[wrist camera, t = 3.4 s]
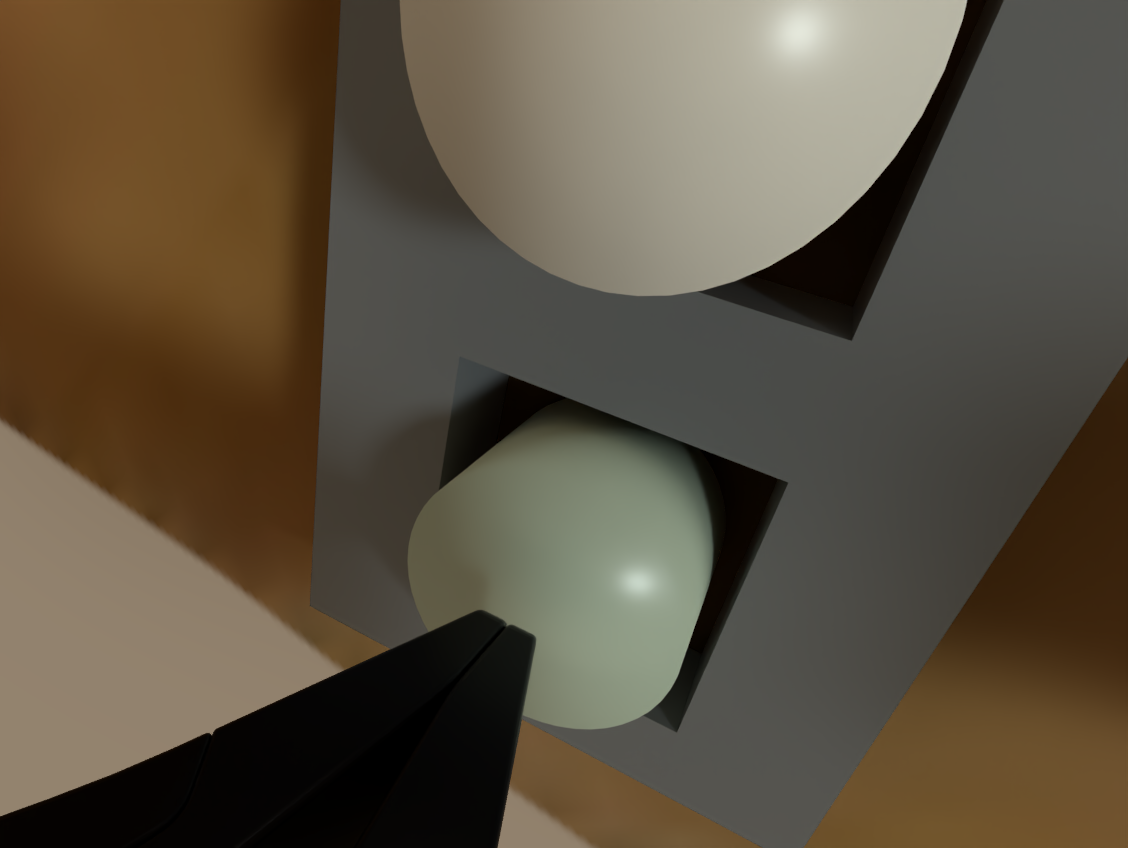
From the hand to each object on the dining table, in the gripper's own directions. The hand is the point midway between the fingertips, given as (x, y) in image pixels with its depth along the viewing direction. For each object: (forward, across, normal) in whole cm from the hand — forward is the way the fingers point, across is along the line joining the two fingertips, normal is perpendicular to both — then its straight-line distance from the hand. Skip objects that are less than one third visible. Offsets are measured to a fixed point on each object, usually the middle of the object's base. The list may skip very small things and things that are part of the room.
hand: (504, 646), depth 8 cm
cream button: (+2, 0, -7) cm, 8 cm away
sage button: (+4, 0, 0) cm, 4 cm away
